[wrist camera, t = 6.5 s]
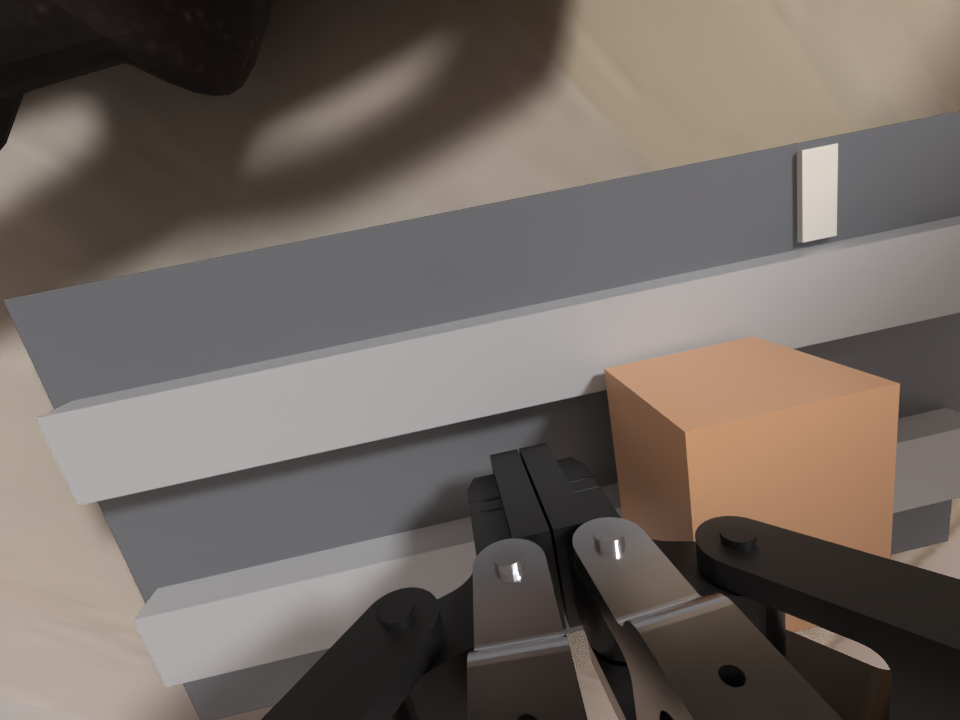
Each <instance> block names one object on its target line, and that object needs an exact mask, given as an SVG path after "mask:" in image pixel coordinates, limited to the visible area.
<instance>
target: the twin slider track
mask: <svg viewBox="0 0 960 720" xmlns="http://www.w3.org/2000/svg"><path fill="white" fill-rule="evenodd" d="M3 301H4V303H5V305H6V307H7V310H8V312H9V314H10V316H11V318H12V320H13V322H14V325H15V327H16V329H17V331H18V333H19V335H20V337H21V339H22V342H23V344H24V346H25V348H26V350H27V352H28V354H29V356H30V359H31V361H32V363H33V365H34V367H35V369H36V371H37V374H38V376H39V378H40V380H41V382H42V384H43V386H44V388H45V391H46V393H47V395H48V397H49V399H50V401H51V403H52V405H53V408H54V410H52V411H50V412H48V413H46V414H44V415H41V416H39V417H37V418H36V420H37V422H38V424H39V426H40V428H41V430H42V432H43V435H44V437H45V439H46V441H47V443H48V445H49V447H50V449H51V451H52V453H53V455H54V457H55V459H56V461H57V464H58V466H59V468H60V470H61V472H62V474H63V476H64V478H65V480H66V482H67V484H68V486H69V488H70V490H71V492H72V495H73V497H74V499H75V501H76V503H77V505H78V506H79V505H83V504H88V503H92V502H97V501H98V504H99V506H100V508H101V510H102V512H103V514H104V516H105V518H106V521H107V523H108V525H109V527H110V529H111V531H112V533H113V536H114V538H115V540H116V542H117V544H118V546H119V548H120V550H121V553H122V555H123V557H124V559H125V561H126V563H127V565H128V567H129V570H130V572H131V574H132V576H133V578H134V580H135V582H136V585H137V587H138V589H139V591H140V593H141V595H142V597H143V599H144V602H145V605H144V607H143V608H142V609H141V611H140V612H139V613H138V615H137V616H136V617H135V619H134V620H133V621H134V623H135V625H136V627H137V629H138V631H139V633H140V635H141V637H142V639H143V641H144V643H145V646H146V648H147V650H148V652H149V654H150V656H151V658H152V660H153V662H154V664H155V666H156V668H157V670H158V672H159V674H160V677H161V679H162V681H163V683H164V685H165V687H170V686H174V685H178V684H182V683H183V685H184V687H185V689H186V691H187V693H188V695H189V697H190V700H191V702H192V704H193V706H194V708H195V710H196V712H197V715H198V717H199V719H200V720H215V719H219V718H223V717H227V716H231V715H236V714H240V713H244V712H248V711H252V710H256V709H260V708H264V707H268V706H272V705H276V704H277V703H278V702H279V701H280V700H281V699H282V698H283V697H284V695H285V694H286V693H287V692H288V691H289V690H290V689H291V688H292V687H293V686H294V685H295V684H296V683H297V682H298V681H299V680H300V679H301V678H302V677H303V676H304V675H305V674H306V673H307V672H308V670H309V669H310V668H311V667H312V666H313V665H314V664H315V663H316V662H317V661H318V660H319V659H320V658H321V657H322V656H323V655H324V654H325V653H326V652H327V651H328V650H329V649H330V648H331V647H332V645H333V644H334V643H335V642H336V641H337V640H338V639H339V638H340V637H341V636H342V635H343V634H344V633H345V632H346V631H347V630H348V629H349V628H350V627H351V626H352V625H353V624H354V623H355V622H356V620H357V619H358V618H359V617H360V616H361V615H362V614H363V613H364V612H365V611H366V610H367V609H368V608H369V607H370V606H371V605H372V604H373V603H374V602H375V601H377V600H378V599H379V598H381V597H382V596H384V595H386V594H388V593H390V592H392V591H395V590H398V589H402V588H408V587H416V588H422V589H425V590H427V591H429V592H431V593H432V594H433V595H434V596H435V598H436V599H439V598H441V597H443V596H445V595H447V594H448V593H450V592H452V591H454V590H456V589H457V588H458V587H460V586H461V585H462V584H464V583H465V582H466V581H467V580H468V578H469V577H470V576H471V574H472V573H473V564H474V561H475V559H476V550H475V543H474V536H473V529H472V522H471V515H470V508H469V501H468V495H467V490H468V488H469V486H470V484H471V482H472V480H473V478H477V477H482V476H486V475H491V474H493V471H492V466H491V461H490V455H492V454H497V453H501V452H506V451H511V450H515V449H517V450H518V453H519V448H524V447H528V446H533V445H538V444H542V443H547V444H548V446H549V448H550V450H551V452H552V453H553V455H554V457H555V459H556V460H559V459H563V458H568V457H572V458H574V459H576V460H578V461H580V462H582V463H583V464H585V465H586V466H587V468H588V469H589V471H590V472H591V474H592V475H593V478H595V480H596V481H597V483H598V484H599V487H601V489H602V490H603V492H604V493H605V495H606V496H607V498H608V499H609V501H610V502H611V504H612V505H613V507H614V508H615V510H616V511H617V513H618V514H619V516H620V517H621V518H622V519H623V516H622V508H621V500H620V492H619V484H618V476H617V468H616V460H615V452H614V444H613V436H612V428H611V420H610V412H609V404H608V396H607V388H606V380H605V372H604V369H605V368H610V367H615V366H619V365H624V364H628V363H633V362H638V361H642V360H647V359H651V358H656V357H661V356H665V355H670V354H675V353H679V352H684V351H688V350H693V349H698V348H702V347H707V346H711V345H716V344H721V343H725V342H730V341H735V340H739V339H744V338H748V337H753V336H754V337H757V338H760V339H763V340H766V341H770V342H773V343H776V344H779V345H782V346H785V347H788V348H791V349H794V350H797V351H801V352H804V353H807V354H810V355H813V356H816V357H819V358H822V359H825V360H829V361H832V362H835V363H838V364H841V365H844V366H847V367H850V368H853V369H856V370H860V371H863V372H866V373H869V374H872V375H875V376H878V377H881V378H884V379H887V380H891V381H894V382H897V383H900V394H899V412H898V430H897V448H896V467H895V485H894V503H893V521H892V539H891V555H892V554H896V553H900V552H904V551H908V550H912V549H916V548H920V547H924V546H929V545H933V544H937V543H941V542H945V541H948V535H949V524H950V514H951V503H952V499H955V498H959V497H960V111H958V112H953V113H948V114H943V115H938V116H933V117H928V118H923V119H918V120H913V121H908V122H903V123H897V124H892V125H887V126H882V127H877V128H872V129H867V130H862V131H857V132H852V133H847V134H842V135H837V136H831V137H826V138H821V139H816V140H811V141H806V142H801V143H796V144H791V145H786V146H781V147H776V148H771V149H765V150H760V151H755V152H750V153H745V154H740V155H735V156H730V157H725V158H720V159H715V160H710V161H705V162H700V163H694V164H689V165H684V166H679V167H674V168H669V169H664V170H659V171H654V172H649V173H644V174H639V175H634V176H628V177H623V178H618V179H613V180H608V181H603V182H598V183H593V184H588V185H583V186H578V187H573V188H568V189H562V190H557V191H552V192H547V193H542V194H537V195H532V196H527V197H522V198H517V199H512V200H507V201H502V202H497V203H491V204H486V205H481V206H476V207H471V208H466V209H461V210H456V211H451V212H446V213H441V214H436V215H431V216H425V217H420V218H415V219H410V220H405V221H400V222H395V223H390V224H385V225H380V226H375V227H370V228H365V229H359V230H354V231H349V232H344V233H339V234H334V235H329V236H324V237H319V238H314V239H309V240H304V241H299V242H294V243H288V244H283V245H278V246H273V247H268V248H263V249H258V250H253V251H248V252H243V253H238V254H233V255H228V256H222V257H217V258H212V259H207V260H202V261H197V262H192V263H187V264H182V265H177V266H172V267H167V268H162V269H156V270H151V271H146V272H141V273H136V274H131V275H126V276H121V277H116V278H111V279H106V280H101V281H96V282H90V283H85V284H80V285H75V286H70V287H65V288H60V289H55V290H50V291H45V292H40V293H35V294H30V295H25V296H19V297H14V298H9V299H4V300H3ZM564 617H565V623H566V629H564V630H563V631H564V634H568V633H572V632H576V631H580V630H584V628H583V625H580V626H576V627H572V628H569V625H568V622H567V619H566V616H565V613H564Z"/></svg>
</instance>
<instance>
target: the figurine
mask: <svg viewBox="0 0 960 720" xmlns="http://www.w3.org/2000/svg"><path fill="white" fill-rule="evenodd" d="M272 1H273V0H0V150H1V149H2V148H3V146H4V145H5V144H6V143H7V140H8V137H9V134H10V131H11V128H12V126H13V123H14V120H15V117H16V114H17V112H18V109H19V106H20V103H21V100H22V98H23V95H24V93H26V92H29V91H32V90H35V89H38V88H42V87H45V86H48V85H51V84H54V83H58V82H61V81H64V80H68V79H71V78H75V77H78V76H82V75H85V74H88V73H92V72H95V71H99V70H102V69H106V68H109V67H112V66H116V65H119V64H123V63H127V64H130V65H132V66H134V67H136V68H139V69H141V70H143V71H145V72H147V73H149V74H151V75H154V76H156V77H158V78H160V79H162V80H164V81H166V82H168V83H171V84H174V85H176V86H179V87H182V88H185V89H187V90H190V91H193V92H196V93H201V94H207V95H213V96H218V95H230V94H231V93H233V92H235V91H236V90H238V89H239V88H241V87H242V86H243V85H244V83H245V81H246V79H247V77H248V76H249V74H250V72H251V70H252V68H253V66H254V64H255V61H256V58H257V54H258V51H259V48H260V45H261V42H262V38H263V35H264V32H265V29H266V25H267V22H268V18H269V14H270V10H271V5H272Z"/></svg>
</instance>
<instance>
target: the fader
mask: <svg viewBox="0 0 960 720" xmlns="http://www.w3.org/2000/svg"><path fill="white" fill-rule="evenodd" d="M604 372H605V380H606V388H607V396H608V404H609V412H610V420H611V428H612V436H613V444H614V452H615V460H616V468H617V476H618V484H619V492H620V500H621V508H622V516H623V519H626V520H629V521H631V522H633V523H635V524H637V525H638V526H640V527H641V528H642V529H643V530H644V531H645V533H646V534H647V535H648V536H649V537H650V538H651V539H654V540H660V541H695V532H696V530H697V528H698V527H699V526H700V525H701V524H702V523H703V522H705V521H707V520H709V519H711V518H715V517H721V516H739V517H745V518H749V519H753V520H757V521H760V522H763V523H767V524H770V525H774V526H777V527H781V528H784V529H788V530H791V531H794V532H798V533H801V534H805V535H808V536H812V537H815V538H818V539H822V540H825V541H829V542H832V543H836V544H839V545H843V546H846V547H849V548H853V549H856V550H860V551H863V552H867V553H870V554H874V555H877V556H880V557H884V558H887V559H890V557H891V539H892V521H893V503H894V485H895V467H896V448H897V430H898V412H899V394H900V383H897V382H894V381H891V380H887V379H884V378H881V377H878V376H875V375H872V374H869V373H866V372H863V371H860V370H856V369H853V368H850V367H847V366H844V365H841V364H838V363H835V362H832V361H829V360H825V359H822V358H819V357H816V356H813V355H810V354H807V353H804V352H801V351H797V350H794V349H791V348H788V347H785V346H782V345H779V344H776V343H773V342H770V341H766V340H763V339H760V338H757V337H754V336H753V337H748V338H744V339H739V340H735V341H730V342H725V343H721V344H716V345H711V346H707V347H702V348H698V349H693V350H688V351H684V352H679V353H675V354H670V355H665V356H661V357H656V358H651V359H647V360H642V361H638V362H633V363H628V364H624V365H619V366H615V367H610V368H605V369H604ZM785 627H786V630H789V631H791V632H793V633H794V632H798V631H802V630H806V629H810V628H814V627H818V626H816V625H814V624H812V623H809V622H807V621H804V620H802V619H799V618H797V617H794V616H792V615H789V614H787V613H785Z"/></svg>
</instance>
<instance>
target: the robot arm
mask: <svg viewBox="0 0 960 720" xmlns="http://www.w3.org/2000/svg"><path fill="white" fill-rule="evenodd" d="M490 461H491V466H492V471H493V474H491V475H486V476H482V477H477V478H473V480H472V482H471V484H470V486H469V488H468V490H467V495H468V501H469V508H470V515H471V522H472V529H473V536H474V543H475V550H476V559H475V561H474V564H473V573H472V574H471V576H470V577H469V578H468V580H467V581H466V582H465V583H464V584H462V585H461V586H460V587H458V588H457V589H456V590H454V591H452V592H450V593H448V594H447V595H445V596H443V597H441V598H439V599H436V598H435V596H434V595H433V594H432V593H431V592H429V591H427V590H425V589H422V588H416V587H408V588H402V589H398V590H395V591H392V592H390V593H388V594H386V595H384V596H382V597H381V598H379V599H378V600H377V601H375V602H374V603H373V604H372V605H371V606H370V607H369V608H368V609H367V610H366V611H365V612H364V613H363V614H362V615H361V616H360V617H359V618H358V619H357V620H356V622H355V623H354V624H353V625H352V626H351V627H350V628H349V629H348V630H347V631H346V632H345V633H344V634H343V635H342V636H341V637H340V638H339V639H338V640H337V641H336V642H335V643H334V644H333V645H332V647H331V648H330V649H329V650H328V651H327V652H326V653H325V654H324V655H323V656H322V657H321V658H320V659H319V660H318V661H317V662H316V663H315V664H314V665H313V666H312V667H311V668H310V669H309V670H308V672H307V673H306V674H305V675H304V676H303V677H302V678H301V679H300V680H299V681H298V682H297V683H296V684H295V685H294V686H293V687H292V688H291V689H290V690H289V691H288V692H287V693H286V694H285V695H284V697H283V698H282V699H281V700H280V701H279V702H278V703H277V704H276V705H275V706H274V707H273V708H272V709H271V710H270V711H269V712H268V713H267V714H266V715H265V716H264V717H263V718H262V719H261V720H587V716H586V712H585V708H584V704H583V699H582V695H581V691H580V687H579V683H578V679H577V675H576V671H575V667H574V663H573V659H572V655H571V650H570V646H569V643H568V639H567V636H566V635H564V631H563V630H564V629H566V623H565V617H564V613H565V616H566V619H567V622H568V625H569V628H572V627H576V626H580V625H583V628H584V630H585V633H586V636H587V640H588V646H589V652H590V659H591V662H592V664H593V666H594V668H595V671H596V673H597V675H598V677H599V679H600V681H601V683H602V685H603V688H604V690H605V692H606V694H607V696H608V698H609V700H610V702H611V705H612V707H613V709H614V711H615V713H616V715H617V717H618V719H619V720H960V579H956V578H953V577H949V576H946V575H942V574H939V573H935V572H932V571H929V570H925V569H922V568H918V567H915V566H911V565H908V564H904V563H901V562H898V561H894V560H891V559H887V558H884V557H880V556H877V555H874V554H870V553H867V552H863V551H860V550H856V549H853V548H849V547H846V546H843V545H839V544H836V543H832V542H829V541H825V540H822V539H818V538H815V537H812V536H808V535H805V534H801V533H798V532H794V531H791V530H788V529H784V528H781V527H777V526H774V525H770V524H767V523H763V522H760V521H757V520H753V519H749V518H745V517H739V516H721V517H715V518H711V519H709V520H707V521H705V522H703V523H702V524H701V525H700V526H699V527H698V528H697V530H696V532H695V541H660V540H654V539H651V538H650V537H649V536H648V535H647V534H646V533H645V531H644V530H643V529H642V528H641V527H640V526H638V525H637V524H635V523H633V522H631V521H629V520H626V519H622V518H621V517H620V516H619V514H618V513H617V511H616V510H615V508H614V507H613V505H612V504H611V502H610V501H609V499H608V498H607V496H606V495H605V493H604V492H603V490H602V489H601V487H599V484H598V483H597V481H596V480H595V478H593V475H592V474H591V472H590V471H589V469H588V468H587V466H586V465H585V464H583V463H582V462H580V461H578V460H576V459H574V458H572V457H568V458H563V459H559V460H556V459H555V457H554V455H553V453H552V452H551V450H550V448H549V446H548V444H547V443H542V444H538V445H533V446H528V447H524V448H519V453H518V450H517V449H515V450H511V451H506V452H501V453H497V454H492V455H490ZM785 613H787V614H789V615H792V616H794V617H797V618H799V619H802V620H804V621H807V622H809V623H812V624H814V625H816V626H819V627H821V628H824V629H826V630H829V631H831V632H834V633H836V634H839V635H841V636H844V637H846V638H849V639H852V640H854V641H857V642H859V643H861V644H863V645H865V646H867V647H869V648H871V649H872V650H874V651H875V652H876V653H877V654H879V655H880V656H881V657H882V658H883V659H884V660H885V661H886V663H887V664H888V666H889V668H890V670H884V669H879V668H876V667H874V666H871V665H869V664H867V663H864V662H861V661H859V660H857V659H855V658H852V657H850V656H847V655H845V654H843V653H841V652H838V651H836V650H833V649H831V648H829V647H826V646H824V645H822V644H819V643H817V642H815V641H812V640H810V639H807V638H805V637H803V636H800V635H798V634H796V633H793V632H791V631H789V630H786V627H785Z"/></svg>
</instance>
